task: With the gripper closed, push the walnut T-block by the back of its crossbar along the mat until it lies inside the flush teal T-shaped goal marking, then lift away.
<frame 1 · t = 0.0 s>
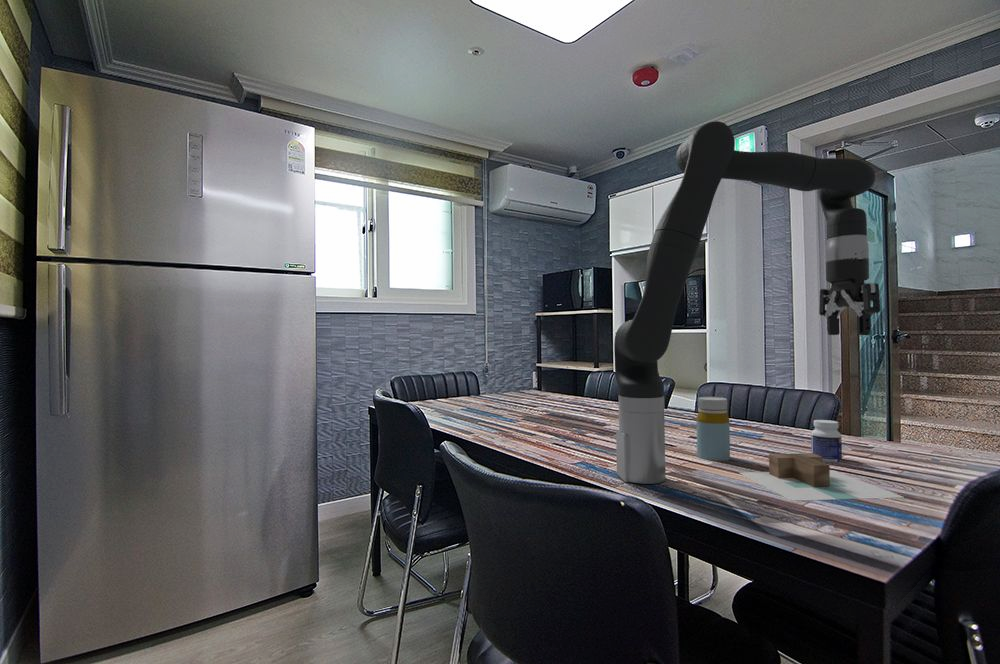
hand: (848, 335, 105), 29 cm above the table, fingers open, 8 cm apart
mat: (814, 491, 93), on the table
pill bottle: (826, 466, 111), on the table
tee block: (805, 479, 95), point 1 cm above the table, touching mat
bottle: (713, 464, 114), on the table
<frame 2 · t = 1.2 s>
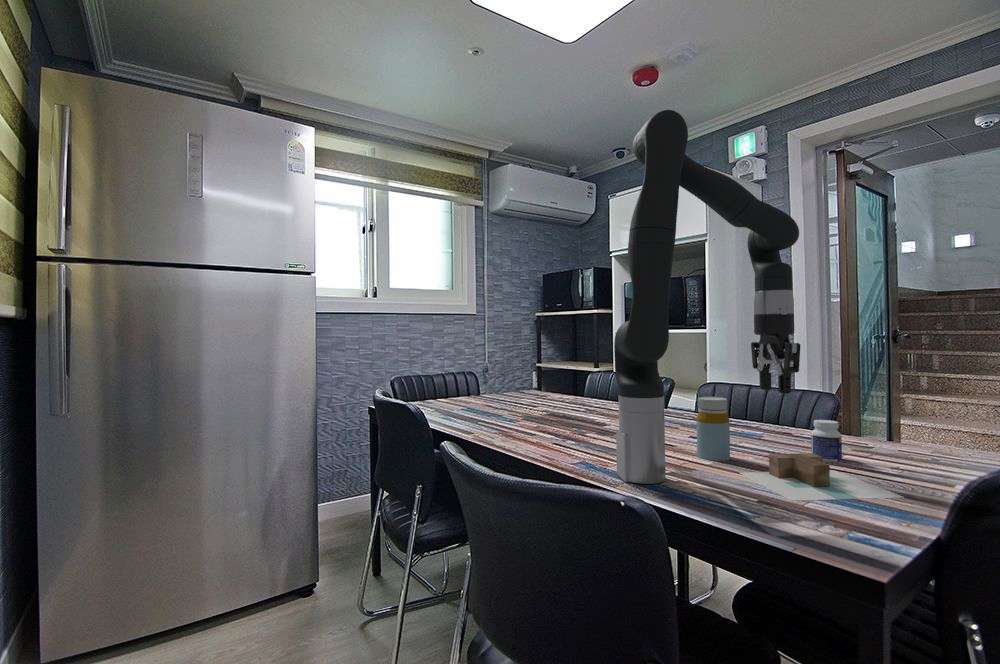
hand: (774, 391, 105), 18 cm above the table, fingers open, 6 cm apart
nothing on the table moved.
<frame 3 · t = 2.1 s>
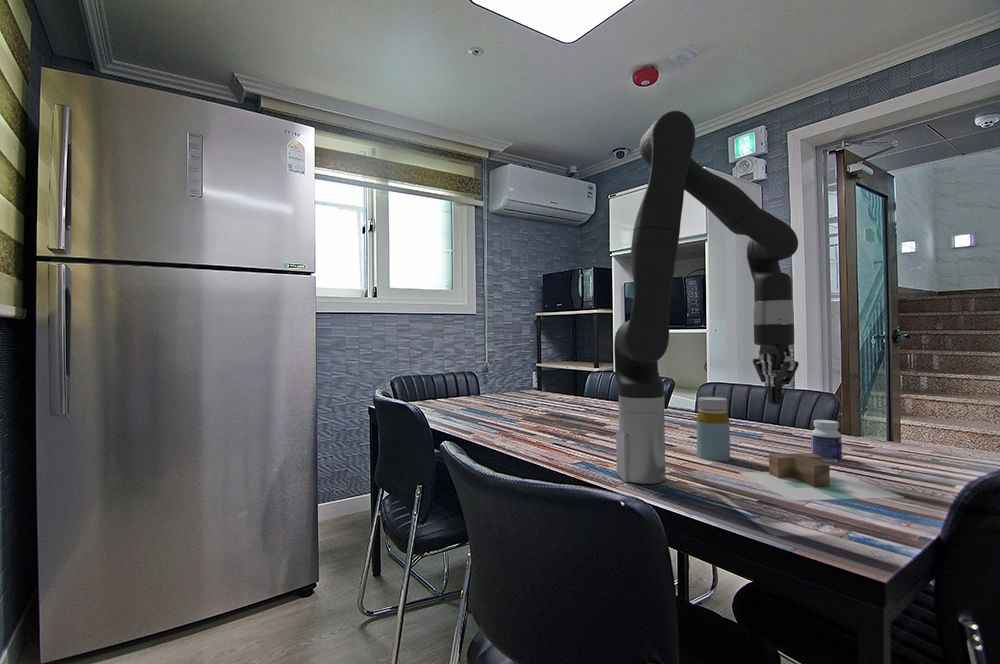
hand: (775, 404, 105), 15 cm above the table, fingers closed
nothing on the table moved.
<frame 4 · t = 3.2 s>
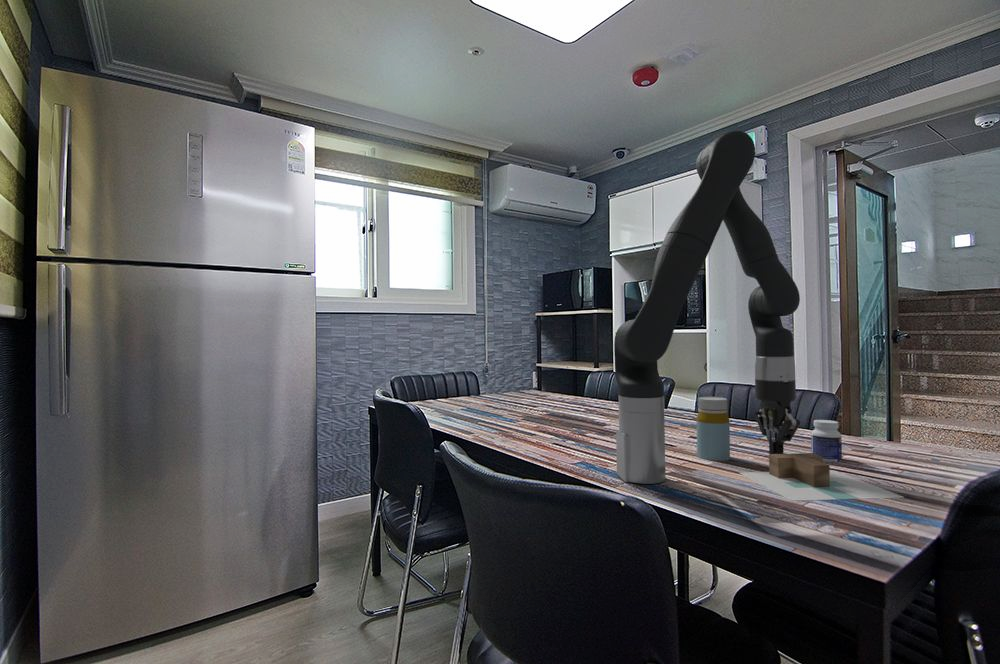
hand: (776, 459, 105), 3 cm above the table, fingers closed
nothing on the table moved.
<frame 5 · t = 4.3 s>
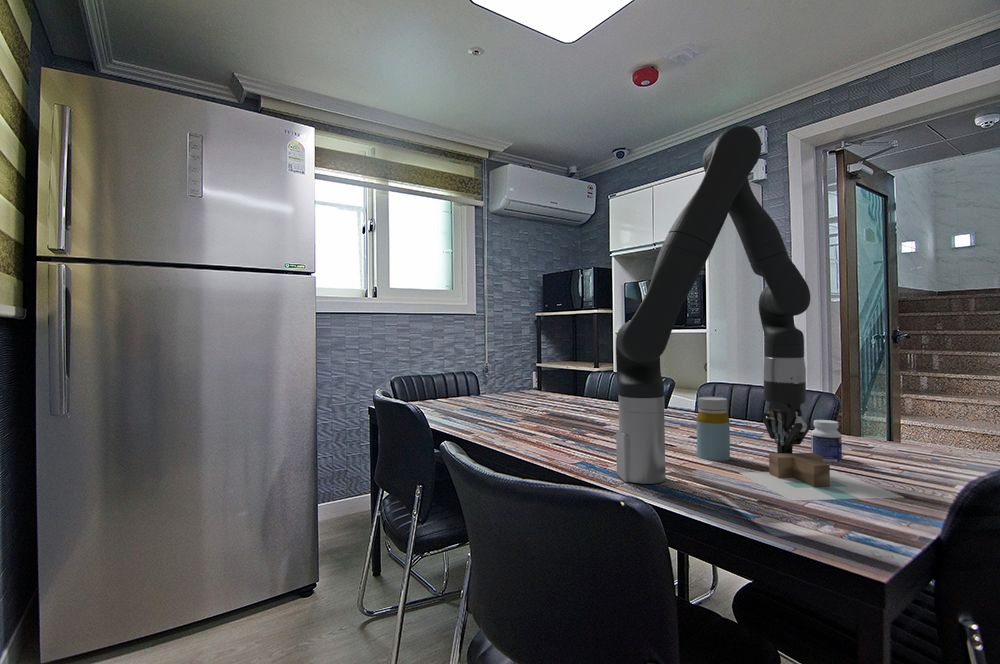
hand: (784, 462, 102), 3 cm above the table, fingers closed
tee block: (805, 479, 95), point 2 cm above the table, touching mat, gripper
everything else where it was.
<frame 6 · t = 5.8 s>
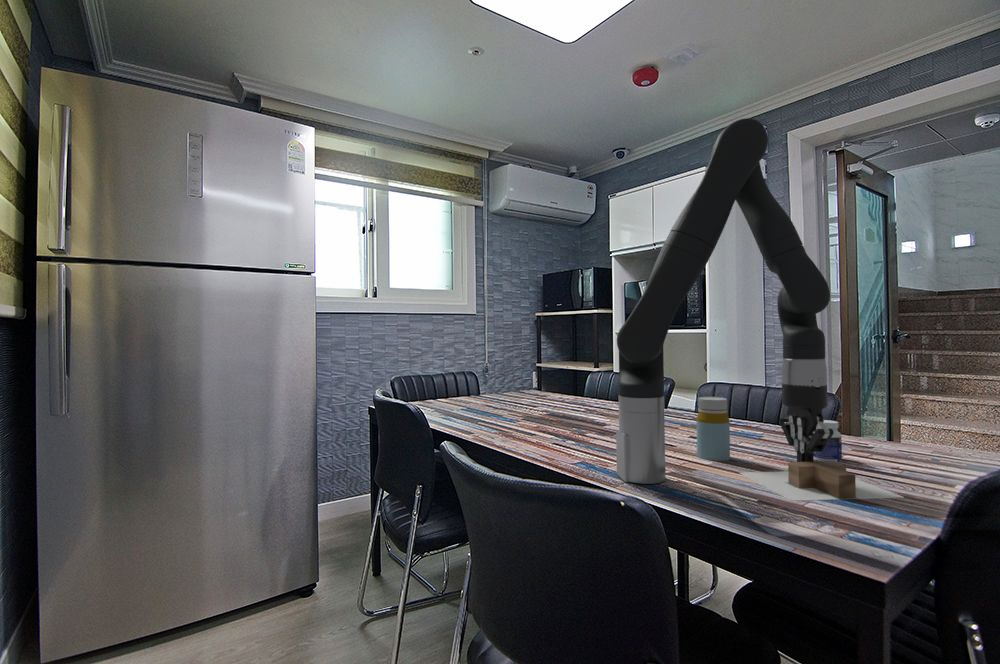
hand: (805, 471, 95), 3 cm above the table, fingers closed
tee block: (828, 490, 89), point 1 cm above the table, touching mat, gripper
everything else where it was.
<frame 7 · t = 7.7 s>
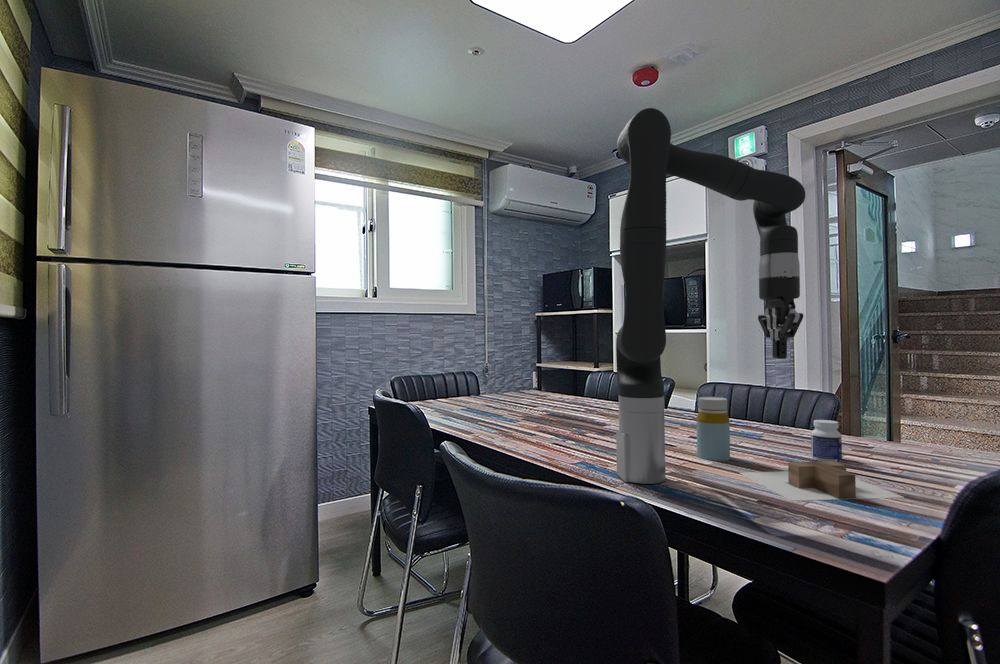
hand: (779, 358, 104), 25 cm above the table, fingers closed
tee block: (828, 490, 89), point 1 cm above the table, touching mat
everything else where it was.
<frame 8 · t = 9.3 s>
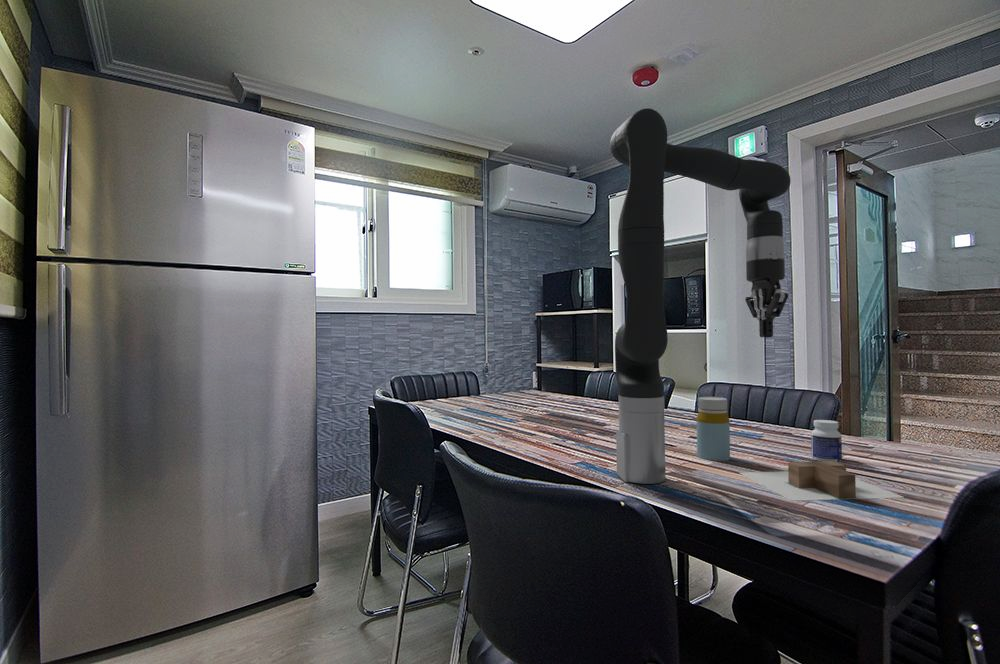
hand: (766, 337, 109), 29 cm above the table, fingers closed
nothing on the table moved.
at the end: tee block 0.3 cm from the target spot on the mat, point 1.5 cm above the mat's base; tee block tilted 0° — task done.
